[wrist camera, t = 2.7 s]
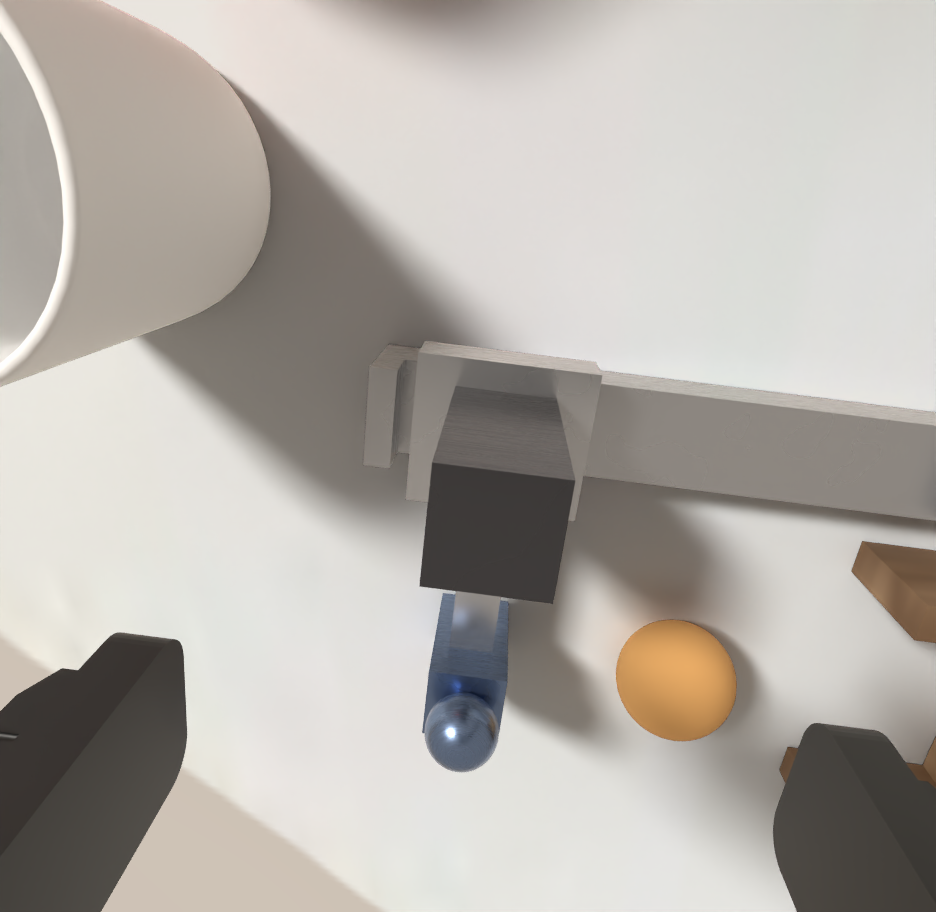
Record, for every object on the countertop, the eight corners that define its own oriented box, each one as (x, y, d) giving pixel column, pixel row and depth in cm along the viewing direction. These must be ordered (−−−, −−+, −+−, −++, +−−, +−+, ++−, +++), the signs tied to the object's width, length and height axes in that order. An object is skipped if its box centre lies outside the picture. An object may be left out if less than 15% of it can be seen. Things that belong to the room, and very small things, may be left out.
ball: (620, 591, 25) (639, 660, 21) (729, 605, 25) (768, 677, 21) (600, 679, 26) (614, 759, 22) (703, 693, 26) (735, 775, 22)
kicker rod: (431, 330, 21) (378, 416, 13) (589, 349, 21) (640, 449, 13) (402, 642, 26) (348, 862, 17) (534, 660, 26) (544, 889, 17)
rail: (388, 344, 22) (369, 367, 19) (969, 416, 22) (1042, 451, 19) (382, 430, 23) (362, 465, 20) (935, 501, 23) (999, 546, 20)
